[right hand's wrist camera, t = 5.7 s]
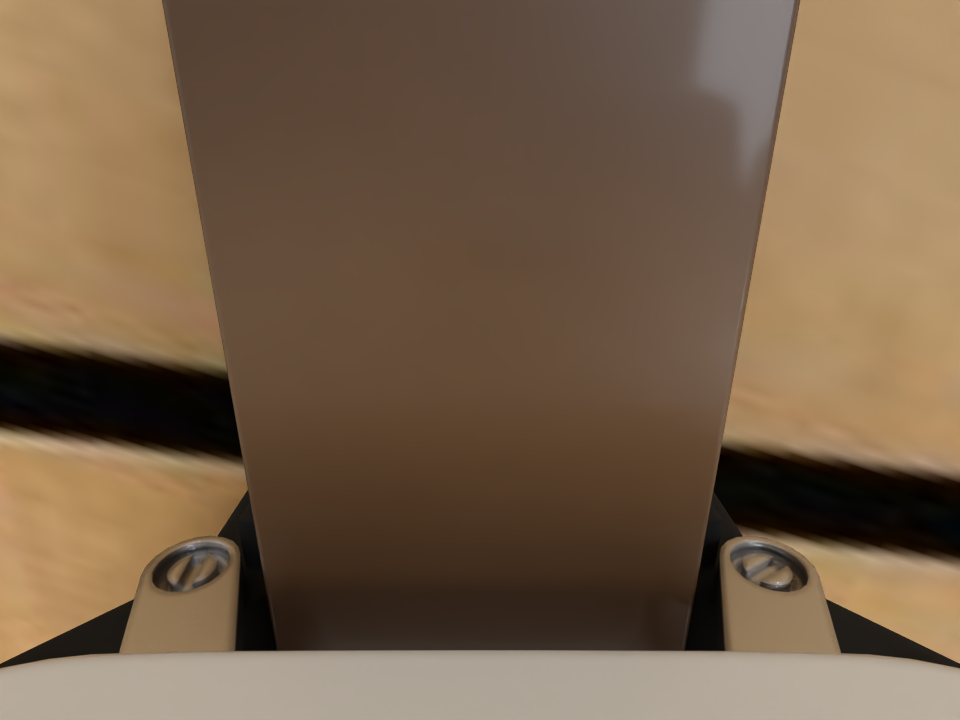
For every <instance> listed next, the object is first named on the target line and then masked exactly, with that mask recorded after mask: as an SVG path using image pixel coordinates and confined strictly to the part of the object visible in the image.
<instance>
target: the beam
mask: <svg viewBox="0 0 960 720" xmlns="http://www.w3.org/2000/svg"><path fill="white" fill-rule="evenodd" d="M162 2H163V8H164V14H165V19H166V25H167V31H168V36H169V42H170V48H171V53H172V59H173V65H174V71H175V76H176V82H177V88H178V93H179V99H180V105H181V110H182V116H183V122H184V127H185V133H186V139H187V144H188V150H189V156H190V161H191V167H192V173H193V178H194V184H195V190H196V195H197V201H198V207H199V212H200V218H201V224H202V230H203V235H204V241H205V247H206V252H207V258H208V264H209V269H210V275H211V281H212V286H213V292H214V298H215V303H216V309H217V315H218V320H219V326H220V332H221V337H222V343H223V349H224V354H225V360H226V366H227V371H228V377H229V383H230V389H231V394H232V400H233V406H234V411H235V417H236V423H237V428H238V434H239V440H240V445H241V451H242V457H243V462H244V468H245V474H246V479H247V485H248V491H249V496H250V502H251V508H252V513H253V519H254V525H255V530H256V536H257V542H258V548H259V553H260V559H261V565H262V570H263V576H264V582H265V587H266V593H267V599H268V604H269V610H270V616H271V621H272V627H273V633H274V638H275V644H276V650H277V651H414V650H595V651H685V647H686V641H687V635H688V630H689V624H690V618H691V613H692V607H693V602H694V596H695V590H696V585H697V579H698V573H699V568H700V562H701V556H702V551H703V545H704V540H705V534H706V528H707V523H708V517H709V511H710V506H711V500H712V494H713V489H714V483H715V477H716V472H717V466H718V461H719V455H720V449H721V444H722V438H723V432H724V427H725V421H726V415H727V410H728V404H729V399H730V393H731V387H732V382H733V376H734V370H735V365H736V359H737V353H738V348H739V342H740V337H741V331H742V325H743V320H744V314H745V308H746V303H747V297H748V291H749V286H750V280H751V275H752V269H753V263H754V258H755V252H756V246H757V241H758V235H759V229H760V224H761V218H762V212H763V207H764V201H765V196H766V190H767V184H768V179H769V173H770V167H771V162H772V156H773V150H774V145H775V139H776V134H777V128H778V122H779V117H780V111H781V105H782V100H783V94H784V88H785V83H786V77H787V72H788V66H789V60H790V55H791V49H792V43H793V38H794V32H795V26H796V21H797V15H798V10H799V4H800V0H162Z"/></svg>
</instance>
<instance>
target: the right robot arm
mask: <svg viewBox="0 0 960 720" xmlns="http://www.w3.org/2000/svg"><path fill="white" fill-rule="evenodd" d="M0 720H960V664H959V663H957V662H955V661H953V660H951V659H949V658H947V657H945V656H943V655H940V654H938V653H936V652H934V651H932V650H930V649H928V648H926V647H924V646H922V645H920V644H918V643H916V642H914V641H912V640H910V639H907V638H905V637H903V636H901V635H899V634H897V633H895V632H893V631H891V630H889V629H887V628H885V627H883V626H881V625H879V624H876V623H874V622H872V621H870V620H868V619H866V618H864V617H862V616H860V615H858V614H856V613H854V612H852V611H850V610H848V609H846V608H843V607H841V606H839V605H837V604H835V603H833V602H831V601H829V600H827V599H826V598H825V595H824V591H823V588H822V584H821V581H820V577H819V575H818V573H817V571H816V569H815V567H814V566H813V565H812V564H811V563H810V562H809V561H808V560H807V559H806V558H805V557H804V556H803V555H802V554H800V553H799V552H797V551H796V550H794V549H793V548H791V547H789V546H786V545H784V544H782V543H780V542H778V541H774V540H770V539H767V538H763V537H755V536H742V534H741V533H740V531H739V530H738V528H737V527H736V525H735V524H734V522H733V521H732V519H731V518H730V516H729V514H728V513H727V511H726V510H725V508H724V507H723V505H722V504H721V502H720V501H719V499H718V498H717V496H716V495H715V493H714V492H713V494H712V500H711V506H710V511H709V517H708V523H707V528H706V534H705V540H704V545H703V551H702V556H701V562H700V568H699V573H698V579H697V585H696V590H695V596H694V602H693V607H692V613H691V618H690V624H689V630H688V635H687V641H686V647H685V651H595V650H414V651H277V650H276V644H275V638H274V633H273V627H272V621H271V616H270V610H269V604H268V599H267V593H266V587H265V582H264V576H263V570H262V565H261V559H260V553H259V548H258V542H257V536H256V530H255V525H254V519H253V513H252V508H251V502H250V496H249V491H247V492H246V494H245V495H244V497H243V498H242V500H241V501H240V503H239V504H238V506H237V507H236V509H235V510H234V512H233V513H232V515H231V517H230V518H229V520H228V521H227V523H226V524H225V526H224V527H223V529H222V530H221V532H220V533H219V535H218V536H205V537H197V538H193V539H190V540H186V541H182V542H180V543H178V544H176V545H174V546H171V547H169V548H167V549H166V550H164V551H163V552H161V553H160V554H158V555H157V556H156V557H155V558H154V559H153V560H152V561H151V562H150V563H149V564H148V565H147V566H146V567H145V569H144V571H143V573H142V575H141V577H140V581H139V584H138V588H137V591H136V595H135V598H134V599H133V600H131V601H129V602H127V603H125V604H123V605H121V606H119V607H117V608H115V609H113V610H111V611H109V612H107V613H104V614H102V615H100V616H98V617H96V618H94V619H92V620H90V621H88V622H86V623H84V624H82V625H80V626H78V627H76V628H73V629H71V630H69V631H67V632H65V633H63V634H61V635H59V636H57V637H55V638H53V639H51V640H49V641H47V642H45V643H42V644H40V645H38V646H36V647H34V648H32V649H30V650H28V651H26V652H24V653H22V654H20V655H18V656H16V657H14V658H11V659H9V660H7V661H5V662H3V663H1V664H0Z"/></svg>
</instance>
